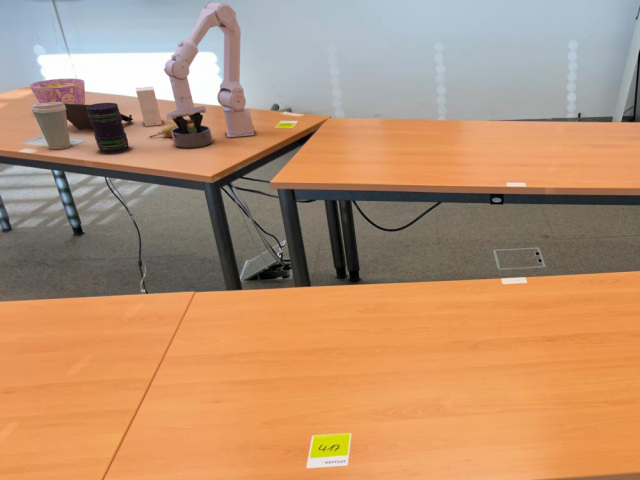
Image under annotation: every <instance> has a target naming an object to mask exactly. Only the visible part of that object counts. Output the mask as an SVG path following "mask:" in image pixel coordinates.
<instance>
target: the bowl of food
mask: <svg viewBox="0 0 640 480" xmlns="http://www.w3.org/2000/svg"><path fill="white" fill-rule="evenodd" d="M29 88H30V90H31V92H32V93H33V95H34V97H35V98H36V100H37V101H38V104H40V103H50V102H62V103H63V104H85V103H86V89H85V80H84V79H81V78H53V79H45V80H38V81H35V82H32V83H30V84H29ZM85 105H86V104H85Z"/></svg>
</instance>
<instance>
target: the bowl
mask: <svg viewBox="0 0 640 480" xmlns="http://www.w3.org/2000/svg"><path fill="white" fill-rule="evenodd" d="M171 134H172V137H171V138H172V143H173V145H174V146H175V147H178V148H181V149H196V148H202V147H205V146H206V147H207V146H208V145H210V144H211V143H213V142H214V141H213V140H214V139H213V136H212V132H211V127H210V126H207V125H202V124H201V128H200V133H193V134H182V132H181V131H180V129H179V127H178V128H175V129H173V130H171Z"/></svg>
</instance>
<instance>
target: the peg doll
mask: <svg viewBox="0 0 640 480" xmlns="http://www.w3.org/2000/svg"><path fill="white" fill-rule="evenodd" d="M186 120H187V130H188V134H193V133H197V129H196V127H194V120H191V119H190V118H189V119H186Z"/></svg>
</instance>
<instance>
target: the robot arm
mask: <svg viewBox="0 0 640 480" xmlns="http://www.w3.org/2000/svg"><path fill="white" fill-rule="evenodd" d="M215 27H218V29H220V30H221V32H222V33H223V79H222V82H221V83H220V85H219V91H218V93H217V97H216V99H217V103H218V104H219V105H220V106H221V107H222V112H223V115H224V121H225V125H226V136H227V138H237V137H238V138H239V137H248V136H255V131H254V130H255V127H254V124H253V120H252V115H251V110H250V108H245V107H246V105H247V104H246V103H247V100H246V97H245V93H244V92H245V91H244V88H243V86H242V85H241V83H240V78H241V77H240V73H241V33H242V32H241V27H240V25H239V22H238V20H237V12H236V11H235V10H234V9H233V7H231V5H230V4H228V3H223V2H221V3H220V2H216V1H208V2H205V4H204V7H203V8H202V9H201V10H200V14H199V17H198V19H197V20H196V23H195V25H194V26H193V28H192V30H191V33H190V34H189V36H188V38H187V39H183V40H181V41H179V42H178V43H177V46H178V47H177V49H175V51H174V53H173V54H171V56H170V59H168V60H167V61H166V62H165V64H164V68H163V71H164V73H165V74H166V75H167V76H168V77H169V82H170V87H171V90H172V94H173V98H174V103H175V107H176V110H173V111H170V112H167V113H165V116H166V120H169V121H173V123H174V124H176V125H177V126H178V127H179V129H180V131H181V132H182V134H188V130H187V120H188V119H186V118H185V117H189V119H191V120H194V127H196V129H197V133H200V128H201V125H202V122H203V119H204V115H203V114H206V113H207V106H203V105H202V106H195V105H194V100H193V97H192V92H191V91H192V90H191V87H190V82H189V78H188V76H190V75H189V74H190V67H191V65H192V63H193V61H194V60H195V58H196V57H197V55H198V53H199V48H198V46H199V44H200V43H201V41H202V40H203V39H204V37H205V36H206V34H207V33H208V31H210V29H211V28H215Z"/></svg>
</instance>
